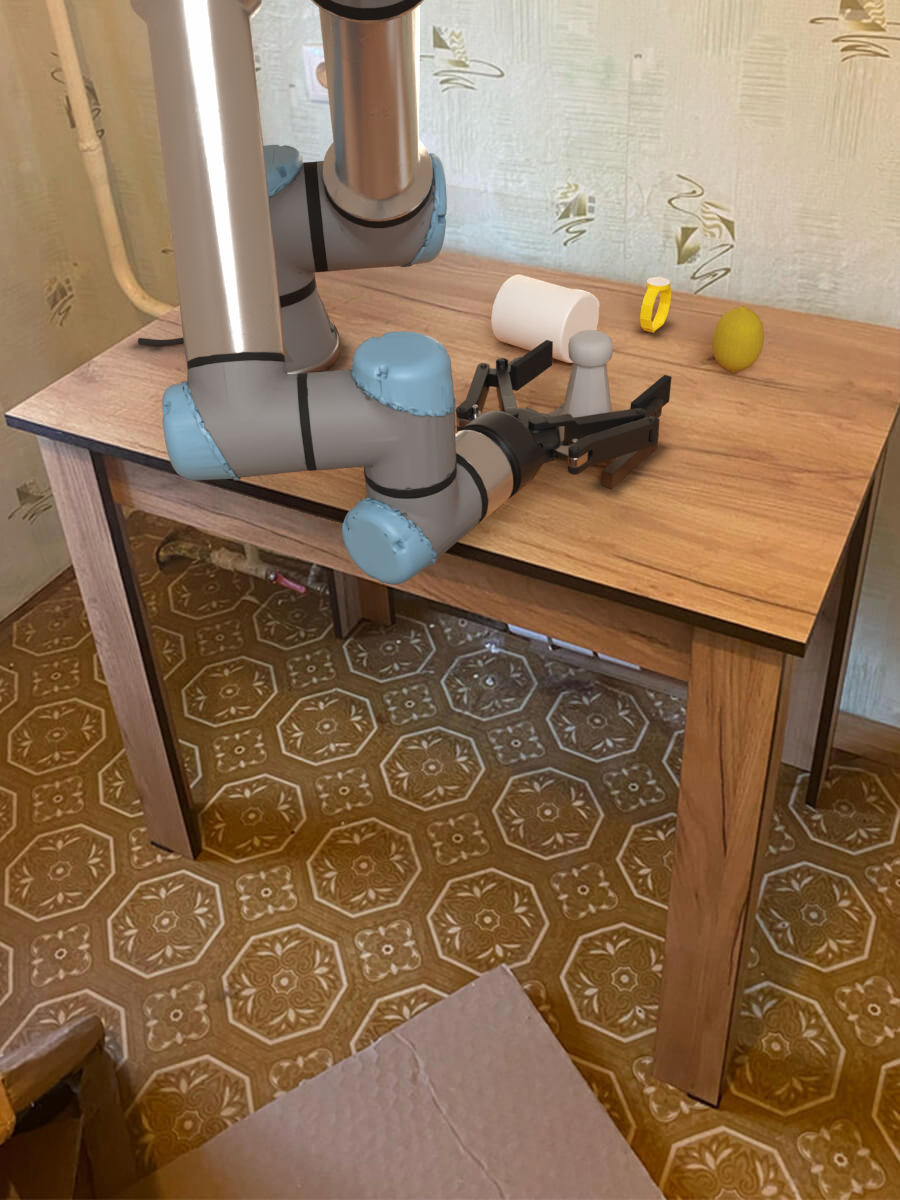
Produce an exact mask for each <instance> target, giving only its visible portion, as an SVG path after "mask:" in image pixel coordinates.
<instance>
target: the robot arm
mask: <svg viewBox="0 0 900 1200" xmlns="http://www.w3.org/2000/svg"><path fill="white" fill-rule="evenodd" d="M310 1H311V2H312V3H313V4H314V5H315V6H317V7H318V12H319V20H320V31H321V41H322V50H323V58H324V59H323V60H324V68H325V69H324V70H325V76H326V86H327V95H328V104H329V114H330V122H331V123H330V124H331V131H332V143H331V144H330V146H329V147H328V149H327V150H326V153H325V155H324V157H323V160H317V161H303V156H302V155H301V153H300V152H299V150H298V149H297V148H296V147H293V146H290V145H286V144H285V145H279V144H266V145H265V144H264V138H263V127H262V117H261V110H260V109H261V108H260V100H259V89H258V80H257V72H256V71H257V70H256V62H255V61H256V60H255V52H254V43H253V33H252V24H251V22H252V20H253V19H254V18H255V16H256V15H257V14H258V13H259V12H260V11H261V9H262V5H263V0H129V2H130V6H131V9H132V11H133V12H134V13H135V15H137V16H139V18H140V19H141V20H142V21H144V22H145V23H146V26H147V35H148V36H147V37H148V43H149V53H150V61H151V63H150V64H151V70H152V79H153V85H154V86H153V88H154V96H155V106H156V114H157V123H158V130H159V140H160V148H161V157H162V166H163V174H164V182H165V191H166V200H167V201H166V202H167V208H168V217H169V227H170V234H171V243H172V244H171V245H172V252H173V261H174V268H175V278H176V285H177V286H176V287H177V294H178V295H177V296H178V303H179V312H180V321H181V322H180V323H181V330H182V337H178V338H177V337H176V338H170V339H153V338H145V337H138V338H137V343H138V345H142V346H143V345H144V346H151V347H170V346H171V347H172V346H180V345H183V347H184V354H185V355H184V357H185V362H186V369H187V373H186V374H187V375H186V381H185V380H183V381H181V382H180V383H174V384H171V385H168V386H167V388H165V390H164V392H163V395H162V399H161V400H162V402H161V409H162V429H163V437H164V443H165V447H166V452H167V456H168V459H169V462H170V465H171V466H172V468H173V470H174V472H176V474H178V475H179V476H180V477H182V478H184V479H185V480H187V481H207V480H208V481H209V480H233V481H239V480H241V479H243V478H253V477H260V476H269V475H270V476H272V475H279V474H288V473H289V474H290V473H300V472H308V471H309V472H314V471H327V470H339V469H340V470H341V469H351V468H362V467H363V475H364V484H365V494H366V495H365V497H364V498H362V499H360V500H358V501H356V504H355V505H354V506H353V507H352V508H351V509H350V510H348V512H347V513H346V515H345V517H344V519H343V522H342V525H341V537H342V541H343V544H344V547H345V550H346V551H347V553H348V555H349V557H350V558H351V560H352V561H353V562H354V563H355V565H356V567H358V568H359V569H360V570H361V571H362V572H363V573H364V574H365V575H367V576H368V577H369V578H371V579H375V580H378V581H379V582H380V583H382V584H386V585H401V584H403V583H405V582H408V581H409V580H410V579H412V578H413V577H415V576H417V575H418V574H419V573H420V572H422V571H424V570H425V569H426V568H428V567H431V566H433V565H434V564H435V563H436V562H437V560H438V559H440V558H441V557H442V555H443V554H445V553H446V552H447V551H448V550H450V549H451V548H452V547H453V546H455V544H457V543H458V542H459V541H460V540H461V539H462V538H464V537H465V536H466V535H467V534H469V532H471V531H472V530H473V529H474V528H476V527H477V526H478V525H479V524H480V523H481V522H483V521H484V520H486V518H488V517H489V516H490V515H491V514H492V513H494V512H495V511H496V510H497V509H499V508H500V507H501V506H502V505H503V504H505V503H506V502H507V500H508V499H511V498H512V497H514V496H515V495H516V494H517V493H518V492H520V491H521V490H522V489H524V488H525V487H526V486H527V485H528V484H529V483H531V482H532V480H533V479H534V478H535V477H536V476H537V474H538V473H539V471H540V469H541V468H542V467H543V465H545V464H548V463H551V462H554V461H556V460H558V461H559V462H561V463H564V464H566V465H567V473H568V474H570V475H579V474H581V473H582V472H584V471H585V470H587V469H588V468H590V467H592V466H594V465H597V464H600V463H603V462H607V461H610V460H613V459H616V458H617V457H619V456H622V455H626V454H629V453H632V452H635V451H638V450H641V449H644V448H648V447H651V446H654V445H656V444H657V442H658V443H659V437H658V433H659V432H660V431H659V430H660V417H661V416H662V414H663V413H662V412H663V407H665V406H666V405H667V404H668V403H670V399H671V398H670V396H671V387H672V379H673V378H672V376H671V375H667V374H663V375H662V376H661V377H660V378H659V379H657V380H656V381H655V382H654V383H653V384H652V385H650V386H649V387H647V389H645V390H644V391H643V392H642V393H641V394H640V395H638V396H637V397H636V398H634V400H632V401H630V405H629V406H630V408H627V409H622V410H615V411H612V412H608V413H601V414H595V415H588V416H581V417H573V416H572V415H571V414H563V415H556V416H552V415H549V414H550V413H544V412H539V411H537V410H535V409H534V408H530V407H528V406H526V407H525V408H524V407H518V406H517V401H516V400H517V399H516V396H515V395H514V391H515V392H518V391H519V390H521V389H522V388H523V387H525V386H526V385H528V384H529V383H530V382H532V381H533V380H534V379H536V378H537V377H538V376H540V375H541V374H543V373H544V372H546V371H547V370H549V368H551V367H552V366H553V358H552V355H553V341H549V340H546V341H544V342H543V343H541V344H540V345H538V346H537V347H536V348H534V349H533V350H531V351H530V350H529V351H528V352H527V353H526V354H524V355H520V356H517V357H515V358H513V359H512V360H510V361H509V359H508V358H505V357H499V358H497V359H496V360H495V368H492V367H490V363H487V362H480V363H479V364H477V366H476V368H475V371H474V375H473V378H472V381H471V383H470V386H469V389H468V391H467V392H468V393H467V395H466V397H465V399H464V401H462V402H461V403H460V404H459V405H458V406H457V407H456V395H455V389H454V383H453V382H454V380H453V379H454V378H453V369H452V360H451V359H452V358H451V356H450V354H449V352H448V350H447V348H445V346H444V344H442V343H441V342H440V341H438V340H437V339H436V338H434V337H432V336H430V335H427V334H424V333H420V332H416V331H406V330H405V331H404V330H399V331H398V330H397V331H389V332H385V333H383V335H381V336H372V337H369V338H367V339H366V340H364V341H363V342H362V343H360V344H359V345H358V346H357V347H356V349H355V351H354V352H353V356H352V364H351V367H350V368H349V369H338V370H328V369H329V368H331V367H332V366H333V365H334V364H335V362H337V360H338V358H339V356H340V343H339V339H341V338H340V337H341V336H340V334H339V331H338V329H337V326H336V324H335V322H334V321H331V318H330V315H329V313H328V311H327V308H326V306H325V304H324V302H323V300H322V298H321V296H320V293H319V291H318V288H317V281H316V274H317V273H326V272H327V273H328V272H340V271H352V270H364V269H365V270H366V269H378V268H391V267H401V268H409V267H411V266H413V265H419V264H427V263H431V262H432V261H434V260H435V259H436V258H437V257H438V256H439V255H440V253H441V251H442V248H443V245H444V241H445V236H446V228H447V219H446V215H447V209H448V200H447V199H448V196H447V195H448V194H447V183H446V174H445V168H444V165H443V161H442V160H441V158H440V157H439V156H438V155H436V154H435V153H432V152H429V151H428V149H427V147H426V146H425V144H424V143H423V142H422V141H421V140H420V135H419V134H420V48H421V47H420V39H421V38H420V37H421V35H420V33H421V30H420V29H421V28H420V26H421V4H423V2H424V1H425V0H310ZM491 388H495V390H496V396H497V402H498V407H499V410H489V411H485V412H484V411H483V410H484V407H485V404H486V401H487V398H488V395H489V391H490V389H491ZM562 426H564V440H563V441H562V442H561V441H560V432H559V427H562Z"/></svg>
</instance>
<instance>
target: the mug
mask: <svg viewBox="0 0 900 1200" xmlns="http://www.w3.org/2000/svg"><path fill="white" fill-rule="evenodd" d="M600 308H601V303H600V301H599V299H598V298H597V296H596V295H594V294H593V293H591V292H589V291H587V290H583V289H578V288H569V287H566V286H562V285H558V284H555V283H552V282H548V281H545V280H541V279H538V278H533V277H531V276H527V275H523V274H514V275H512V276H510V277H508V279H506V280H505V281H504V282H503V284H502V285H501V286H500V288H499V289H498V291H497V293H496V296H495V297H494V301H493V305H492V309H491V316H490V317H491V318H490V320H491V321H490V325H491V330H492V332H493V335H494V336H495V338H496V339H497V340H498V341H499V342H502V343H505V344H508V345H511V346H515V347H518V348H520V349H524V350H526V351H529V352H530V351H531V350H533V349H534V348H536V347H537V346H538V345H540V344H541V343H543V342H544V341H546V340H549V341H553V355H552V359H555V360H557V361H560V362H564V363H568V364H573V361H572V360H570V358H569V352H568V344H569V340H570V338H571V337H572V336H573V335H575V334H576V333H578V332H580V331H583V330H598V326H599V321H600V320H599V319H600Z"/></svg>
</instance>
